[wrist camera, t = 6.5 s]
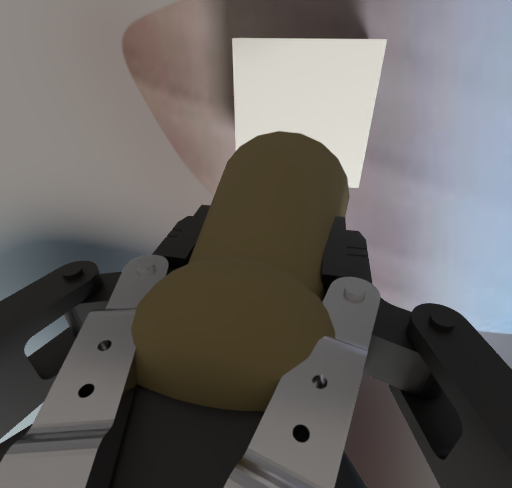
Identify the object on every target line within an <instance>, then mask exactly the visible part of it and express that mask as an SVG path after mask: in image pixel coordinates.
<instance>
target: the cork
mask: <svg viewBox="0 0 512 488" xmlns="http://www.w3.org/2000/svg"><path fill="white" fill-rule="evenodd" d="M349 197H350V196H349V188H348V179H347V175H346V173H345V172H344V170H343V168H342V166H341V164H340V162H339V160H338V158H337V157H336V156H335V155H334V154H333V153H332V152H331V151H330V150H329V149H328V148H327V147H326V146H324V145H323V144H322V143H321V142H319V141H316V140H314V139H312V138H310V137H308V136H306V135H303V134H301V133H292V132H283V131H277V132H272V133H268V134H263V135H258V136H256V137H255V138H253V139H251V140H250V141H248V142H246V143H245V144H243V145H241V146H240V147H239V148H238V149H237V151H236V152H235V153H234V154H233V156H232V157H231V158H230V159H229V161H228V162H227V165H226V167H225V170H224V172H223V175H222V177H221V180H220V183H219V185H218V188H217V190H216V193H215V195H214V198H213V201H212V203H211V206H210V208H209V211H208V213H207V216H206V219H205V221H204V224H203V226H202V229H201V231H200V234H199V237H198V239H197V242H196V244H195V247H194V250H193V252H192V255H191V257H190V260H189V262H188V264H187V265H185V266H183V267H180V268H178V269H176V270H174V271H172V272H171V273H169V274H168V275H167V276H165V277H164V278H163V279H161V280H160V281H159V282H157V283H156V284H155V285H154V286H153V287H152V289H151V290H150V291H149V292H148V293H147V294H146V295H145V296H144V298H143V299H142V300H141V301H140V302H139V304H138V305H137V306H136V307H137V308H136V312H135V316H134V320H133V323H132V327H131V333H132V338H133V343H134V345H135V347H136V353H135V356H136V370H137V379H138V381H137V384H138V385H140V386H143V387H145V388H147V389H150V390H152V391H155V392H157V393H160V394H163V395H166V396H168V397H171V398H174V399H177V400H181V401H185V402H189V403H193V404H197V405H202V406H208V407H213V408H219V409H228V410H238V411H266V409H267V407H268V404H269V402H270V400H271V398H272V396H273V394H274V392H275V390H276V388H277V386H278V383H279V381H280V379H281V377H282V376H283V375H285V374H286V373H287V372H289V371H290V370H292V369H293V368H295V367H296V366H297V365H299V364H300V363H302V362H303V361H305V360H306V359H307V358H309V356H310V354H311V353H312V351H313V349H314V347H315V346H316V344H317V342H318V341H319V340H320V339H321V338H323V337H324V336H325V335H327V336H330V337H333V338H335V330H334V327H333V324H332V321H331V319H330V316H329V313H328V311H327V309H326V307H325V306H324V304H323V303H322V302H323V300H324V298H325V293H324V288H323V283H322V281H321V279H322V265H323V252H324V249H325V246H326V243H327V240H328V237H329V234H330V231H331V228H332V225H333V222H334V218H335V216H343V217H345V215H346V210H347V206H348V201H349Z"/></svg>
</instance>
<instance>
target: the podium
mask: <svg viewBox="0 0 512 488" xmlns="http://www.w3.org/2000/svg"><path fill="white" fill-rule="evenodd" d="M386 43H387V39H318V38H232V47H233V77H234V108H235V139H236V151H237V149H238V148H239V147H240V146H241V145H243V144H245V143H246V142H248V141H250V140H251V139H253V138H255V137H256V136H258V135H263V134H268V133H272V132H277V131H283V132H292V133H301V134H303V135H306V136H308V137H310V138H312V139H314V140H316V141H319V142H321V143H322V144H323V145H324V146H326V147H327V148H328V149H329V150H330V151H331V152H332V153H333V154H334V155H335V156H336V157H337V158H338V160H339V162H340V164H341V166H342V168H343V170H344V172H345V173H346V175H347V179H348V187H351V188H358V187H359V182H360V177H361V172H362V167H363V162H364V156H365V151H366V146H367V141H368V136H369V131H370V125H371V120H372V115H373V110H374V105H375V100H376V94H377V89H378V84H379V79H380V74H381V69H382V63H383V58H384V53H385V48H386Z"/></svg>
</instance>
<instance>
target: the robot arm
mask: <svg viewBox="0 0 512 488" xmlns="http://www.w3.org/2000/svg"><path fill="white" fill-rule="evenodd" d="M209 208H210V205H201V206H200V208H199V209H198V210H197V212H196V213H195V215H194V216H187V217H186V218H184V219H182V220H181V221H179V222H178V223H177V224H176V225H175V227H174V228H173V229H172V231H171V232H170V233H169V234H168V235H167V237H166V238H165V239H164V240H163V241H162V243H161V244H160V245H159V246H158V248H157V249H156V250H155V251H154V253H153V254H152V255H145V256H141V257H138V258H135V259H133V260H132V261H130V262H129V263H128V264H127V265H126V266H125V267H124V269H123V271H122V272H115V273H105V274H100V273H99V270H98V267H97V265H96V264H95V263H93V262H90V261H76V262H72V263H69V264H66V265H64V266H62V267H60V268H58V269H56V270H54V271H53V272H51V273H49V274H48V275H46V276H44V277H42V278H40V279H39V280H37V281H35V282H33V283H32V284H30V285H28V286H27V287H25V288H23V289H21V290H19V291H18V292H16V293H15V294H12V295H11V296H9V297H7V298H5V299H4V300H2V301H0V439H1V438H2V437H3V436H4V435H5V434H6V433H8V432H9V431H10V430H11V429H12V428H13V427H15V426H16V425H17V424H18V423H19V422H21V421H22V420H23V419H24V418H25V417H26V416H28V414H30V413H31V412H32V411H33V410H35V408H37V407H38V406H39V405H40V404H42V403H43V402H44V403H43V405H42V407H41V409H40V411H39V413H38V415H37V417H36V419H35V421H34V423H33V424H31V425H30V426H28V427H27V428H25V429H23V430H22V431H20V432H19V433H17V434H15V435H14V436H12V437H10V438H9V439H7V440H6V441H4V442H2V443H1V444H0V488H367V486H366V484H365V483H364V481H363V480H362V478H361V477H360V475H359V473H358V472H357V470H356V468H355V467H354V465H353V464H352V462H351V461H350V459H349V457H348V456H347V454H346V453H345V451H344V446H345V442H346V438H347V434H348V430H349V426H350V422H351V418H352V414H353V410H354V406H355V402H356V398H357V394H358V389H359V385H360V382H361V378H362V374H363V373H365V374H368V375H370V376H372V377H374V378H376V379H379V380H381V381H383V382H385V383H387V384H389V388H390V390H391V392H392V394H393V396H394V398H395V400H396V402H397V404H398V406H399V408H400V410H401V411H402V414H403V415H404V417H405V419H406V421H407V423H408V425H409V427H410V429H411V431H412V433H413V435H414V437H415V439H416V441H417V443H418V445H419V447H420V448H421V450H422V452H423V454H424V456H425V458H426V460H427V462H428V464H429V466H430V468H431V470H432V472H433V474H434V475H435V478H436V480H437V482H438V484H439V486H440V487H441V488H512V369H511V368H510V367H509V366H508V365H507V364H506V363H505V362H504V361H503V359H502V358H501V357H500V356H499V355H498V354H497V353H496V352H495V350H494V349H493V348H492V347H491V346H490V345H489V344H488V343H487V342H486V341H485V340H484V338H483V337H482V336H481V335H480V334H479V333H478V332H477V331H476V329H475V328H474V327H473V326H472V325H471V324H470V323H469V322H468V321H467V320H466V319H465V318H464V317H463V316H462V315H461V314H460V313H458V312H456V311H455V310H453V309H451V308H449V307H446V306H443V305H439V304H432V303H426V304H421V305H418V306H417V307H415V308H414V309H413V311H412V312H410V311H407V310H405V309H402V308H399V307H396V306H394V305H391V304H389V303H388V302H386V301H384V300H383V299H382V298H381V297H380V293H379V291H378V289H377V288H376V287H375V286H374V285H373V284H372V278H371V271H370V265H369V258H368V251H367V245H366V239H365V238H364V237H363V236H362V235H361V233H360V232H359V231H351V230H346V223H345V217H343V216H335V218H334V222H333V225H332V228H331V231H330V234H329V237H328V240H327V243H326V246H325V249H324V252H323V265H322V279H321V281H322V283H323V288H324V293H325V298H324V300H323V302H322V303H323V304H324V306H325V307H326V309H327V311H328V313H329V316H330V319H331V321H332V324H333V327H334V330H335V338H333V337H330V336H327V335H325V336H324V337H323V338H321V339H320V340H319V341H318V342H317V344H316V346H315V347H314V349H313V351H312V353H311V354H310V356H309V358H307V359H306V360H305V361H303V362H302V363H300V364H299V365H297V366H296V367H295V368H293V369H292V370H290V371H289V372H287V373H286V374H285V375H283V376H282V377H281V379H280V381H279V383H278V386H277V388H276V390H275V392H274V394H273V396H272V398H271V400H270V402H269V404H268V407H267V409H266V411H238V410H228V409H219V408H213V407H208V406H202V405H197V404H193V403H189V402H185V401H181V400H177V399H174V398H171V397H168V396H166V395H163V394H160V393H157V392H155V391H152V390H150V389H147V388H145V387H143V386H140V385H138V384H137V381H138V379H137V370H136V356H135V353H136V347H135V345H134V343H133V338H132V333H131V327H132V323H133V320H134V316H135V312H136V308H137V307H136V306H137V305H138V304H139V302H140V301H141V300H142V299H143V298H144V296H145V295H146V294H147V293H148V292H149V291H150V290H151V289H152V287H153V286H154V285H155V284H156V283H157V282H159V281H160V280H161V279H163V278H164V277H165V276H167V275H168V274H169V273H171V272H172V271H174V270H176V269H178V268H180V267H183V266H185V265H187V264H188V262H189V260H190V257H191V255H192V252H193V250H194V247H195V244H196V242H197V239H198V237H199V234H200V231H201V229H202V226H203V224H204V221H205V219H206V216H207V213H208V211H209ZM62 315H64V316H65V318H66V320H67V322H68V324H69V326H70V327H69V328H67V329H66V330H65V331H63V332H62V333H60V334H59V335H58V336H56V337H55V338H54V339H52V340H51V341H49V342H48V343H47V344H45V345H44V346H43V347H42V348H40V349H39V350H37V351H36V352H34V353H33V354H32V355H30V356H29V357H27V356H26V355H25V353H24V347H25V345H26V343H27V341H28V340H29V339H30V338H31V337H32V336H33V335H35V334H36V333H38V332H39V331H41V330H42V329H43V328H45V327H47V326H48V325H49V324H51V323H52V322H54V321H55V320H57V319H58V318H60V317H61V316H62Z"/></svg>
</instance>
